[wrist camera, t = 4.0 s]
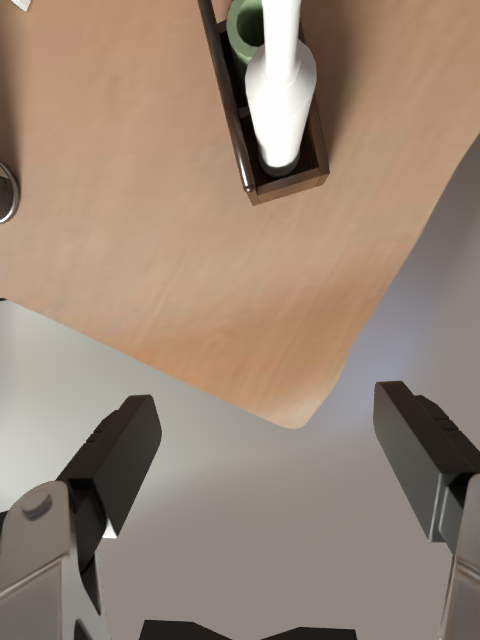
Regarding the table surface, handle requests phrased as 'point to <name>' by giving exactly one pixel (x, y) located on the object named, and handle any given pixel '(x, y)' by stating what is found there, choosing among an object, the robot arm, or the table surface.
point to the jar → (245, 35)
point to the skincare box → (22, 3)
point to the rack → (243, 123)
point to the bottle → (280, 88)
